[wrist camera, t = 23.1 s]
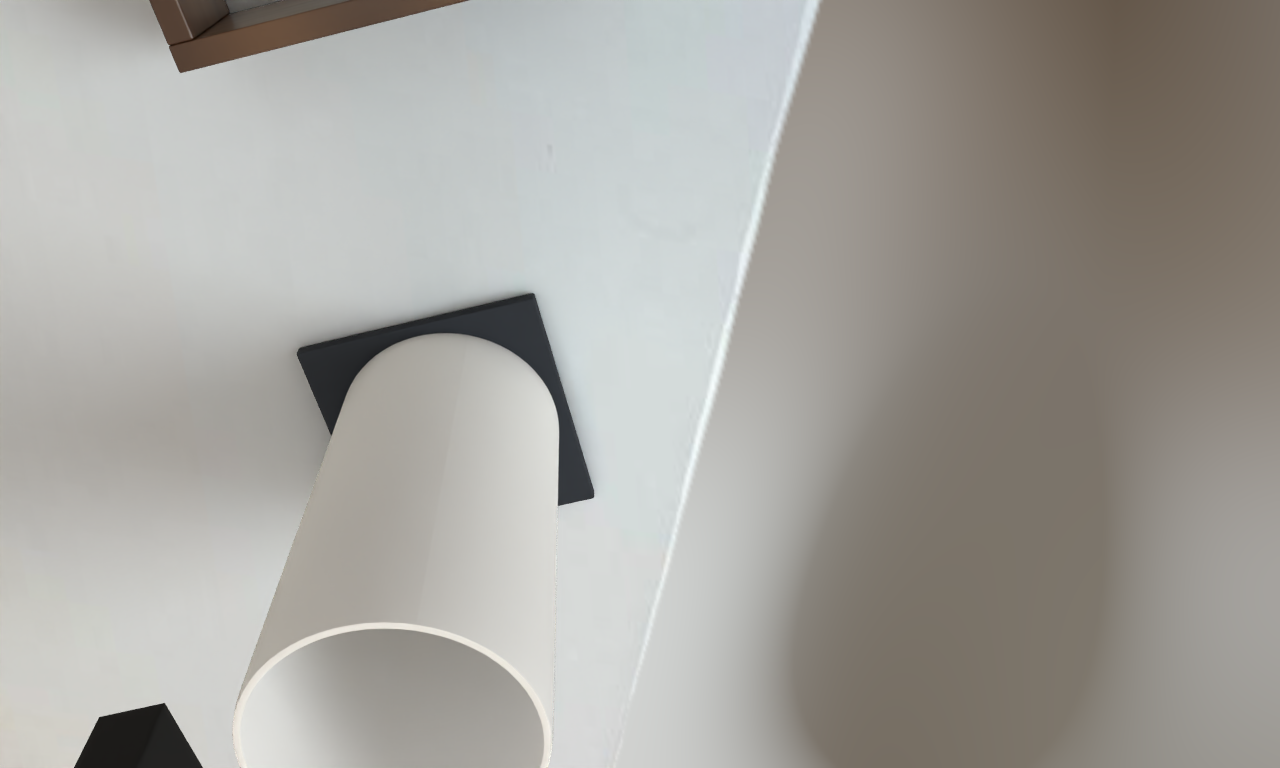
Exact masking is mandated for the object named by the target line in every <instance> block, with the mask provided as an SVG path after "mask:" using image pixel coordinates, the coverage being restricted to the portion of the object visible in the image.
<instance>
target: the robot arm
mask: <svg viewBox="0 0 1280 768" xmlns="http://www.w3.org/2000/svg"><path fill="white" fill-rule="evenodd" d="M74 768H203V767H202V766H201V764H200V762H199V760H198V759H197V757H196V755H195V754H194V752H193V750H192V749H191V747H190V745H189V743H188V742H187V740H186V738H185V737H184V735H183V733H182V732H181V730H180V728H179V727H178V725H177V723H176V721H175V720H174V718H173V716H172V715H171V713H170V711H169V710H168V708H167V706H166V705H165V703H163V704H158V705H154V706H149V707H144V708H140V709H135V710H130V711H126V712H121V713H116V714H112V715H107V716H103V717H99V719H98V721H97V723H96V725H95V727H94V729H93V731H92V733H91V735H90V737H89V739H88V741H87V743H86V745H85V747H84V749H83V751H82V753H81V755H80V757H79V759H78V761H77V763H76V765H75V767H74Z"/></svg>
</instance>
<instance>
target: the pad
mask: <svg viewBox="0 0 1280 768" xmlns="http://www.w3.org/2000/svg"><path fill="white" fill-rule="evenodd" d="M435 333H454V334H463V335H470V336H474V337H478V338H482V339H485V340H488V341H491V342H493V343H496V344H498V345H500V346H502V347H504V348H506V349H508V350H510V351H511V352H513V353H514V354H516V355H517V356H519V357H520V358H521V359H522V360H524V361H525V362H526V363H527V364H528V365H529V366H530V367H531V368H532V369H533V370H534V371H535V372H536V373H537V374H538V375H539V377H540V378H541V379H542V381H543V382H544V384H545V385H546V387H547V388H548V390H549V392H550V394H551V396H552V399H553V401H554V404H555V407H556V411H557V415H558V421H559V464H558V506H560V505H564V504H569V503H573V502H578V501H582V500H587V499H591V498H594V490H593V486H592V483H591V480H590V477H589V473H588V470H587V467H586V463H585V460H584V457H583V453H582V450H581V447H580V444H579V440H578V437H577V434H576V430H575V427H574V424H573V420H572V417H571V414H570V411H569V407H568V404H567V401H566V397H565V394H564V391H563V387H562V384H561V381H560V377H559V374H558V371H557V368H556V364H555V361H554V358H553V354H552V351H551V348H550V344H549V341H548V338H547V335H546V331H545V328H544V325H543V321H542V318H541V315H540V311H539V308H538V305H537V302H536V298H535V295H534V294H529V295H525V296H520V297H516V298H512V299H508V300H503V301H499V302H495V303H491V304H486V305H482V306H478V307H473V308H469V309H465V310H461V311H456V312H452V313H448V314H444V315H439V316H435V317H431V318H427V319H422V320H418V321H414V322H410V323H405V324H401V325H397V326H393V327H388V328H384V329H380V330H376V331H371V332H367V333H363V334H359V335H354V336H350V337H346V338H342V339H337V340H333V341H329V342H325V343H320V344H316V345H312V346H307V347H303V348H300V349H299V350H298V352H297V356H298V359H299V361H300V363H301V366H302V368H303V370H304V373H305V375H306V377H307V380H308V382H309V384H310V387H311V389H312V392H313V394H314V396H315V399H316V401H317V403H318V406H319V408H320V410H321V413H322V415H323V417H324V420H325V422H326V424H327V427H328V429H329V431H330V434H331V436H332V433H333V430H334V428H335V425H336V422H337V419H338V417H339V414H340V411H341V408H342V405H343V403H344V400H345V397H346V394H347V392H348V390H349V388H350V385H351V384H352V382H353V380H354V379H355V377H356V376H357V374H358V373H359V372H360V370H361V369H362V368H363V367H364V366H365V365H366V364H367V363H368V362H369V361H370V360H371V359H372V358H373V357H375V356H376V355H377V354H379V353H380V352H382V351H383V350H385V349H386V348H388V347H390V346H392V345H394V344H396V343H398V342H401V341H403V340H406V339H409V338H413V337H417V336H421V335H427V334H435Z"/></svg>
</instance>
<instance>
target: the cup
mask: <svg viewBox="0 0 1280 768" xmlns="http://www.w3.org/2000/svg"><path fill="white" fill-rule="evenodd" d="M558 464H559V421H558V415H557V411H556V407H555V404H554V401H553V399H552V396H551V394H550V392H549V390H548V388H547V387H546V385H545V384H544V382H543V381H542V379H541V378H540V377H539V375H538V374H537V373H536V372H535V371H534V370H533V369H532V368H531V367H530V366H529V365H528V364H527V363H526V362H525V361H524V360H522V359H521V358H520V357H519V356H517V355H516V354H514V353H513V352H511V351H510V350H508V349H506V348H504V347H502V346H500V345H498V344H496V343H493V342H491V341H488V340H485V339H482V338H478V337H474V336H470V335H463V334H454V333H435V334H427V335H421V336H417V337H413V338H409V339H406V340H403V341H401V342H398V343H396V344H394V345H392V346H390V347H388V348H386V349H385V350H383V351H382V352H380V353H379V354H377V355H376V356H375V357H373V358H372V359H371V360H370V361H369V362H368V363H367V364H366V365H365V366H364V367H363V368H362V369H361V370H360V372H359V373H358V374H357V376H356V377H355V379H354V380H353V382H352V384H351V385H350V388H349V390H348V392H347V394H346V397H345V400H344V403H343V405H342V408H341V411H340V414H339V417H338V419H337V422H336V425H335V428H334V430H333V433H332V436H331V439H330V442H329V444H328V447H327V450H326V453H325V455H324V458H323V461H322V464H321V467H320V469H319V472H318V475H317V478H316V481H315V483H314V486H313V489H312V492H311V494H310V497H309V500H308V503H307V506H306V508H305V511H304V514H303V517H302V519H301V522H300V525H299V528H298V531H297V533H296V536H295V539H294V542H293V544H292V547H291V550H290V553H289V556H288V558H287V561H286V564H285V567H284V569H283V572H282V575H281V578H280V581H279V583H278V586H277V589H276V592H275V595H274V597H273V600H272V603H271V606H270V608H269V611H268V614H267V617H266V620H265V622H264V625H263V628H262V631H261V633H260V636H259V639H258V642H257V645H256V648H255V650H254V653H253V656H252V659H251V662H250V664H249V667H248V670H247V673H246V676H245V679H244V681H243V684H242V687H241V690H240V693H239V696H238V699H237V703H236V708H235V713H234V719H233V733H232V736H233V745H234V750H235V754H236V758H237V761H238V763H239V766H240V768H548V765H549V760H550V755H551V750H552V744H553V725H554V679H555V627H556V573H557V518H558Z"/></svg>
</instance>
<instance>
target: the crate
mask: <svg viewBox="0 0 1280 768" xmlns="http://www.w3.org/2000/svg"><path fill="white" fill-rule="evenodd" d="M149 1H150V3H151V6H152V8H153V10H154V13H155V15H156V17H157V20H158V22H159V24H160V27H161V29H162V31H163V34H164V36H165V39H166V41H167V43H168V45H170V46H169V49H170V51H171V53H172V56H173V58H174V61H175V63H176V65H177V68H178V70H179V72H180V73H183V72H187V71H191V70H195V69H199V68H203V67H207V66H211V65H215V64H219V63H223V62H227V61H230V60H234V59H238V58H242V57H246V56H250V55H254V54H258V53H262V52H266V51H270V50H274V49H278V48H282V47H286V46H290V45H294V44H298V43H302V42H306V41H310V40H314V39H318V38H322V37H326V36H329V35H333V34H337V33H341V32H345V31H349V30H353V29H357V28H361V27H365V26H369V25H373V24H377V23H381V22H385V21H389V20H393V19H397V18H401V17H405V16H409V15H413V14H417V13H421V12H425V11H428V10H432V9H436V8H440V7H444V6H448V5H452V4H456V3H460V2H464V1H468V0H283V1H279V2H275V3H271V4H267V5H263V6H259V7H255V8H251V9H247V10H244V11H240V12H236V13H232V14H229V10H228V8H227V5H226V2H225V0H149Z"/></svg>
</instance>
